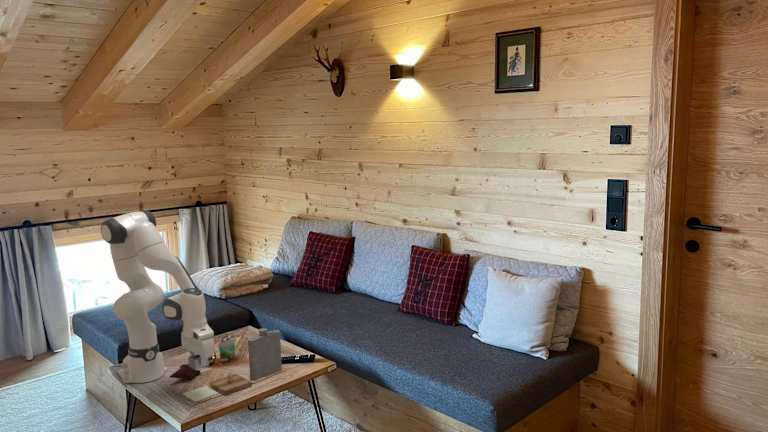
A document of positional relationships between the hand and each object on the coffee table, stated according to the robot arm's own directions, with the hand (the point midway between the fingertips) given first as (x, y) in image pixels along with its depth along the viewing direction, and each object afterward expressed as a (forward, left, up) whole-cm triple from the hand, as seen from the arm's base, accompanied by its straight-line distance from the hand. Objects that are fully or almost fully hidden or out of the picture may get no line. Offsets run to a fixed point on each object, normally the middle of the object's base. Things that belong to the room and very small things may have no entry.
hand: (198, 362), depth 240 cm
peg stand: (+3, +12, -13) cm, 18 cm away
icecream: (-18, +3, -14) cm, 23 cm away
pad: (0, 0, -13) cm, 13 cm away
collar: (0, 0, -1) cm, 1 cm away
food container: (-24, +28, -14) cm, 39 cm away
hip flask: (+3, +29, -14) cm, 32 cm away
